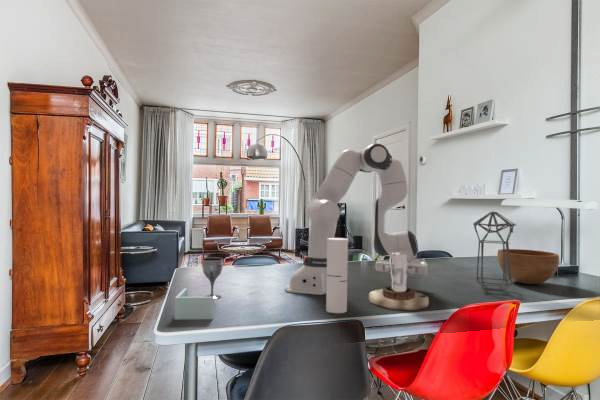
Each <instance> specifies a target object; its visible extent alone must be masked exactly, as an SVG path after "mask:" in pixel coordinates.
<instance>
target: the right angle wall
mask: <svg viewBox="0 0 600 400" xmlns="http://www.w3.org/2000/svg"><path fill="white" fill-rule="evenodd" d="M214 308H215V300H214V297H204V296H188V288H187V287H186V288H185V287H184V288H183V289H182V290H181V291H180V292H179V293H178V294H177V295H176V296H175V297H174V320H176V321H177V320H214V318H215V317H214V315H215V314H214V311H215V309H214Z"/></svg>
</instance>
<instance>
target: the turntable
mask: <svg viewBox="0 0 600 400" xmlns="http://www.w3.org/2000/svg"><path fill="white" fill-rule="evenodd" d="M391 287H392V285H386V286H382V288H381V289H374V290H372V291H370V292H369V293H368V301H369V302H370V303H372V304H374V305H376V306H378V307H382V308H387V309H392V310H401V311H402V310H403V311H417V310H421V309H425V308H427V307H429V304H430V301H429V299H430V298H429V297H428V296H427V295H426V294H423V293H421V292H417V291H415V289H413V288H411V287H407V286H406V288H407V292H406V293H403V292H393V291H391Z"/></svg>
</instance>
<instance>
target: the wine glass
mask: <svg viewBox="0 0 600 400" xmlns="http://www.w3.org/2000/svg"><path fill="white" fill-rule="evenodd" d="M201 266H202V272H203V274H204V276H205V277H206V279H207V280H208V281H209V283H210V294H208V295H204V296H203V297H214V301H215V300H218V299H221V298H222V295H219V294H214V287H215V282H216V280H217V279H218V277H219V276H220V275H221V274H222V271H223V266H224V258H223V257H220V256H219V257H217V256H215V257H213V256H212V257H210V256H209V257H204V258H202V259H201Z"/></svg>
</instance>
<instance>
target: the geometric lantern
mask: <svg viewBox="0 0 600 400" xmlns="http://www.w3.org/2000/svg"><path fill="white" fill-rule="evenodd" d="M496 216H497V217H498V218H499V219H501V220H502V221H503V222H504V223H498V221H497V218H496ZM488 217H489V221H488V223H487V224H486V223H482V222H483V221H485V220H486V219H487V218H488ZM492 221H493V222H494V223H492ZM472 224H473V228H474V231H475V233H476V235H477V239H478V249H477V262H476V263H477V264H476V279H475V280H476V283H478V284H479V285H480V286H481V290H482V291H483V293H484V294H492V295H502V296H506V295H507V289H508V288H509V287H511V286H512V285H513V283H512V279H511V270H510V258H509V249H510V248H509V246H510V245H509V244H510V242H509V240H510V238H511V234H513V233H514V226H517V224H516V223H514V222H513V221H511V220H510V219H508V218H506V217H505V216H503V215H502V214H501V213H499V212H497V211H489V212H488V213H487V214H485V215H484V216H482V217H481V218H479V219H478V220H476V221H475V222H473V223H472ZM477 226H479V227H480V228H481V229H483V230H484V231H486V232H487V233H486V234H485V235H484V236H483V237H482V239H480V236H479V233H478V230H477ZM485 226H487V227H485ZM492 227H495V229H496V230H494V229H492ZM499 227H500V228H499ZM507 228H509V232H508V233H507V237H506V241H504V238H503V236H501V234H500V232H501V231H503V230H505V229H507ZM491 233H493V234H494V233H496V234H497V235H498V237H499V238H500V240H489V241H486V239H487V237H488V235H489V234H491ZM484 244H499V245H500V244H501V245H502V249H503V272H502V278H494V277H493V278H491V277H484ZM505 249H506V253H507V265H508V276H507V274H506V259H505ZM480 250H481V252H480ZM480 253H481V254H480ZM480 257H481V262H480ZM479 263H481V265H480V264H479ZM479 266H480V268H481V269H480V277H479ZM504 266H505V271H504ZM507 277H508V278H507ZM484 280H491V281H492V280H496V281H502V282H501V283H497V282H487V281H484ZM504 282H505V283H504ZM487 285H488V286H491V287H488V286H487ZM494 287H495V288H494ZM496 287H499V288H496ZM488 290H492V291H493V290H494V291H501V292H503V293H497V292H488Z"/></svg>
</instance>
